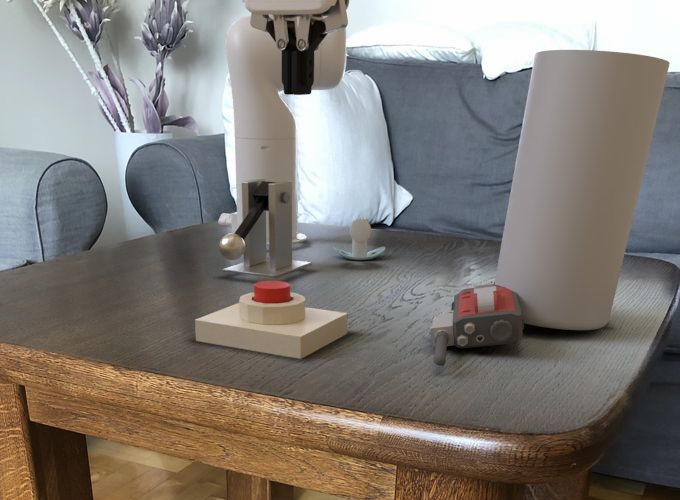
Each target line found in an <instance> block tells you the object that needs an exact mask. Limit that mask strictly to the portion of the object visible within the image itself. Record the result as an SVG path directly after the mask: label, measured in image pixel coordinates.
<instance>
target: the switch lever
mask: <svg viewBox="0 0 680 500" xmlns="http://www.w3.org/2000/svg"><path fill="white" fill-rule="evenodd" d="M270 183H275V182H267V181H262V182H261V184H260V185H259V186H258V188H257V189H256V191H255V192H254V193H253V197H254V200H255V204H254V206H253V207H252V209H251V210H250V212H249V213H248V214H247V216H246V217H245V219H244V220H243V222H242V223H241V225H240V226H239V227H238V229H237V230H236V232H235V233H232V232H231V233H227V234H224V235H223V236H222V238H221V239H220V240H219V243H218V248H219V249H218V250H219V252H220V254H221V256H223V258H225V259H226V260H229V261H236V260H238V259H239V260H240V258H242V256H244V251H245V243H244V239H245V238H246V236H247V235H248V233H249V232H250V230H251V229H252V228H253V226H254V225H255V223H256V222H257V220H258V219H259V217H260V216H261V214H262V213H263V211H269V186H268V184H270Z"/></svg>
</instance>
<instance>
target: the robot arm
mask: <svg viewBox="0 0 680 500" xmlns="http://www.w3.org/2000/svg"><path fill="white" fill-rule="evenodd" d="M240 1H241V2H242V3H244V6H245V9H246V10H247V11H248V12H249V13H251V14H250V15H245V16H242V17H240V18H238V19H236V20H234V21H233V22H232V23H231V25H230V26H229V28H228V30H227V32H226V37H225V52H226V53H225V54H226V61H227V67H228V73H229V81H230V85H231V86H230V87H231V95H232V106H233V107H232V109H233V120H234V121H233V125H234V126H233V127H234V128H233V129H234V151H235V152H234V154H235V158H234V159H235V184H236V185H235V191H236V193H235V195H236V211H235V212H231V213H224V212H222V213H221V214H220V216H219V219H218V221H217V222H218V226H219V227H224V228H227V227H228V228H230V229H231V233H235V232H236V230H237V229H238V227H239V226H240V225H241V223H242V222H243V216H242V182H244V181H249V180H255V179H265V181H267V182H281V181H292V245H293V244H294V245H295V244H299V243H302V242H305V241H307V240H308V237H307V235H306V234H304V233H301V232H298V123H297V119H296V117H295V115H294V113H293V111H292V110H291V108H290V107H289V106H288V104H287V103H286V102H285V101H284V100H283V98H282V97H281V95H280V92H282V91H283V94H284V95H285V96H286V95H287V96H288V95H289V96H290V95H292V96H293V95H294V96H306V95H311V94H312V91H327V90H333V89H336V88H337V87H338V86H339V85H340V84H341V83H342V81H343V80H344V77H345V74H346V67H347V27H348V25H349V18H348V13H347V10H348V8H349V5H350V0H240ZM266 246H269V211H266Z"/></svg>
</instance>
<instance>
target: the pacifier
mask: <svg viewBox="0 0 680 500" xmlns="http://www.w3.org/2000/svg"><path fill="white" fill-rule="evenodd" d="M371 234H372V226H371V224H370V222H369V221H368V220H367V219H366V218H363V217H358V218H356V219H354V220H353V221H352V223H351V224H350V227H349V236H350V238H351V239H352V242H351V246H352V247H351V252H350V251H347V250H344V249H342V248H339V247H337V246H333V250H334V251H335V252H336V254H338V255H340V256H341V257H343V258H345V259H346V260H351V261H367V260H373V259H375V258H377V257H379V256H380V255H382V254H383V253H384V252H385V251H386V246H381V247H377V248H375V249H372V250H369V251H368V240H369V238H370V236H371Z"/></svg>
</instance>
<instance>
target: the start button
mask: <svg viewBox="0 0 680 500" xmlns="http://www.w3.org/2000/svg"><path fill="white" fill-rule="evenodd" d="M253 292H254V301H255V302H259V303H270V304H278V303H285V302H290V292H291V283H289V282H288V281H287V282H286V281H282V280H261V281H258V282H255V283H254V284H253Z"/></svg>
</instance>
